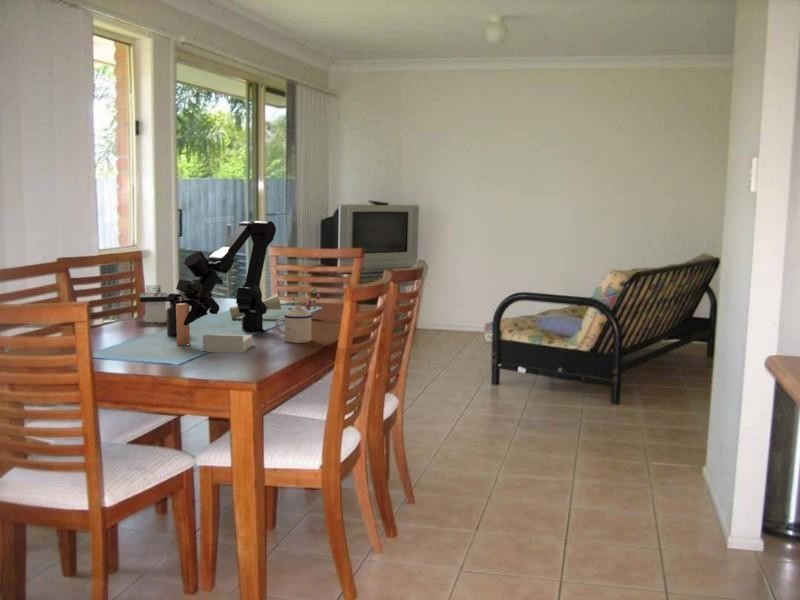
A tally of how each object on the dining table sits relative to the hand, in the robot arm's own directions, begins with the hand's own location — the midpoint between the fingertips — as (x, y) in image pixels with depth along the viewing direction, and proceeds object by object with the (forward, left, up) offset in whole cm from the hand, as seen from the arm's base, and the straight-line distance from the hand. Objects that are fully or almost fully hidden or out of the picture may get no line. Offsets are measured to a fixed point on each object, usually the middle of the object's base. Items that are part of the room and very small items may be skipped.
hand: (179, 324), depth 256 cm
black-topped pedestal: (+1, -53, -7) cm, 54 cm away
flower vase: (-43, -44, -7) cm, 62 cm away
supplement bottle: (-2, -20, -7) cm, 21 cm away
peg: (-1, -1, -7) cm, 7 cm away
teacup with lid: (-36, +4, -7) cm, 37 cm away
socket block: (-14, +9, -7) cm, 18 cm away
